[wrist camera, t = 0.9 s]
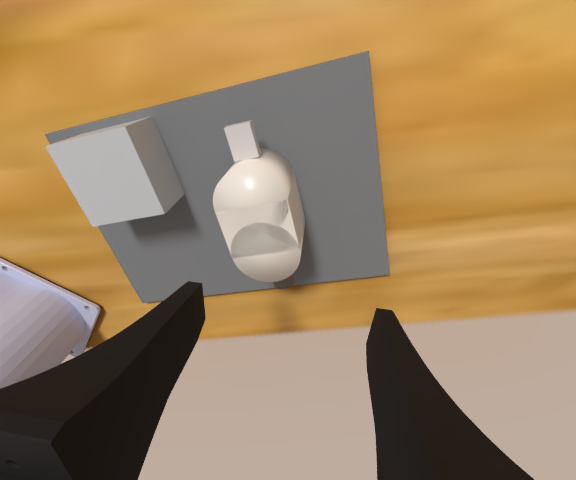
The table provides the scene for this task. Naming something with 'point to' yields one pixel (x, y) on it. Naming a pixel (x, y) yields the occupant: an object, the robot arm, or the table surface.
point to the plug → (260, 209)
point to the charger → (119, 172)
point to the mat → (294, 147)
